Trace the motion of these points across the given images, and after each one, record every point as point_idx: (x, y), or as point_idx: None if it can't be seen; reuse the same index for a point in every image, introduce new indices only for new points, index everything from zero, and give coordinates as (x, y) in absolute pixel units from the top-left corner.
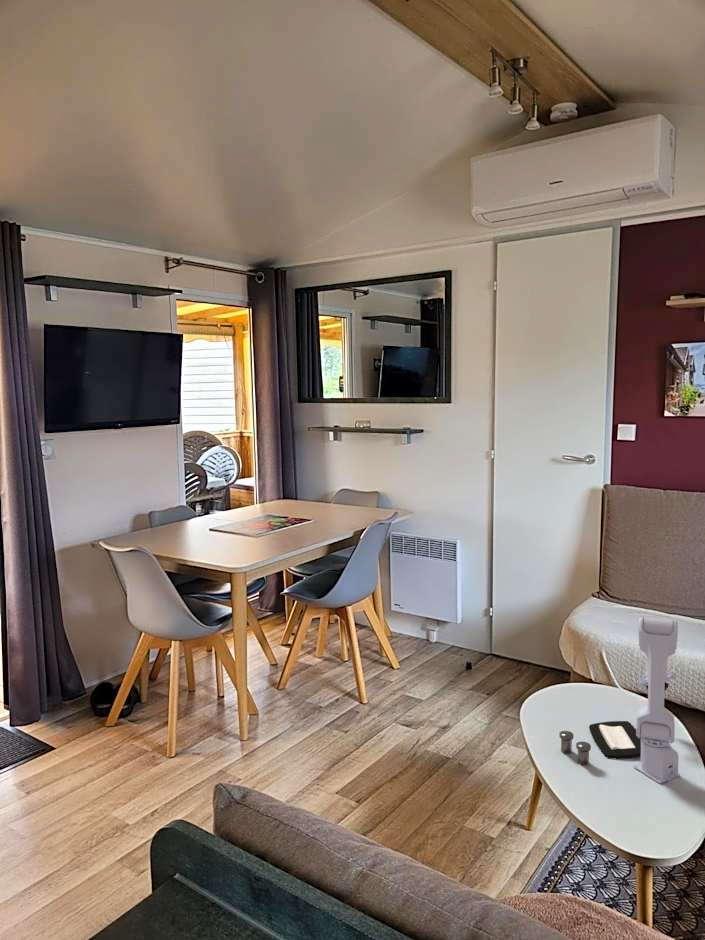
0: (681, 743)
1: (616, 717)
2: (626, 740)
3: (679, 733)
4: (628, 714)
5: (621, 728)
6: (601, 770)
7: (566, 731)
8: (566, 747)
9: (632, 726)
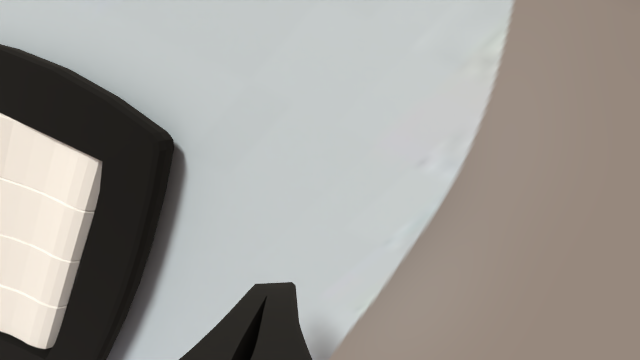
0: None
1: (180, 14)
2: (38, 282)
3: (369, 297)
4: (277, 17)
5: (81, 180)
6: None
7: None
8: None
9: (142, 204)
